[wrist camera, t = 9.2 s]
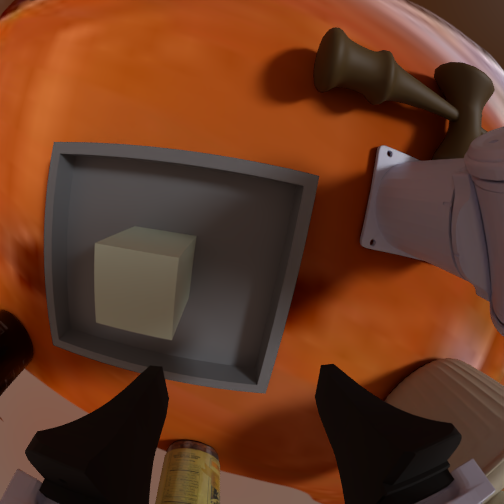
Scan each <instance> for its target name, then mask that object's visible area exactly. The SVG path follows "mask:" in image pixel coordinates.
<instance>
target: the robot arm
mask: <svg viewBox="0 0 504 504" xmlns="http://www.w3.org/2000/svg"><path fill="white" fill-rule="evenodd" d="M387 152H389V153H390V157H389V156H388V155H387ZM372 239H373V244H372V245H370V241H371V240H372ZM360 244H361V246H363V247H365V248H369V249H373V250H378V251H383V252H387V253H392V254H396V255H401V256H405V257H410V258H414V259H419V260H423V261H426V262H428V263H430V264H433V265H435V266H437V267H439V268H441V269H443V270H446V271H448V272H450V273H452V274H454V275H456V276H458V277H460V278H462V279H464V280H467V281H469V282H470V283H472V284H473V285H474V287H475V289H476V294H477V295H478V296H480V297H482V298H484V299H486V300H487V301H489V302H490V315H491V319H492V322H493V324H494V326H495V327H496V329H497V331H498V332H499V333H500V334H501V335H502V336H504V127H501V128H497V129H494V130H492V131H489V132H487V133H485V134H483V135H481V136H479V137H477V138H476V139H474V140H473V141H472V142H471V144H470V146H469V149H468V151H467V152H466V154H465V156H464V158H456V159H440V160H427V161H420V160H418V159H416V158H414V157H411V156H409V155H407V154H404V153H402V152H400V151H397V150H395V149H392V148H390V147H387V146H384V145H383V146H379V147H378V149H377V153H376V160H375V167H374V173H373V178H372V184H371V190H370V195H369V200H368V205H367V210H366V215H365V219H364V224H363V228H362V233H361V237H360ZM315 399H316V404H317V408H318V412H319V415H320V418H321V421H322V423H323V426H324V428H325V431H326V433H327V436H328V438H329V441H330V443H331V446H332V448H333V451H334V454H335V457H336V461H337V465H338V469H339V474H340V478H341V483H342V488H343V494H344V500H345V504H481V503H483V502H484V501H485V500H486V499H487V498H488V497H490V496H491V495H492V494H493V493H494V492H495V488H494V487H493V485H492V484H491V483H490V481H489V480H488V478H487V477H486V476H485V474H484V473H483V471H482V470H481V469H480V467H479V466H478V464H477V463H476V462H475V460H474V459H470V460H469V461H467V462H466V463H464V464H462V465H461V466H459V467H457V468H456V469H454V470H453V471H452V472H451V473H450V472H449V470H448V468H449V467H450V464H449V462H448V461H447V460H448V459H449V458H450V456H451V455H452V454H453V453H454V451H455V450H456V449H457V447H458V446H459V444H460V442H461V439H462V435H461V434H460V433H459V431H458V430H457V429H456V428H455V426H454V425H453V424H452V423H448V422H441V421H435V420H431V419H427V418H423V417H419V416H416V415H413V414H411V413H408V412H405V411H403V410H401V409H398V408H396V407H394V406H392V405H390V404H388V403H386V402H384V401H383V400H381V399H379V398H378V397H376V396H375V395H373V394H372V393H370V392H369V391H367V390H366V389H364V388H363V387H362V386H360V385H359V384H358V383H356V382H355V381H354V380H353V379H351V378H350V377H349V376H348V375H346V374H345V373H344V372H343V371H342V370H340V369H339V368H338V367H337V366H335V365H334V364H328V365H321V368H320V374H319V379H318V384H317V389H316V394H315ZM168 401H169V397H168V392H167V387H166V382H165V377H164V372H163V367H162V366H151V365H150V366H149V367H148V368H147V369H145V370H144V371H143V372H142V373H141V374H140V375H139V376H138V377H137V378H136V379H135V380H134V381H133V382H132V383H131V384H130V385H128V386H127V387H126V388H125V389H124V390H123V391H122V392H120V393H119V394H118V395H117V396H115V397H114V398H113V399H112V400H110V401H109V402H108V403H106V404H105V405H103V406H102V407H100V408H98V409H97V410H95V411H93V412H92V413H90V414H88V415H86V416H84V417H82V418H80V419H78V420H75V421H73V422H70V423H68V424H65V425H62V426H59V427H55V428H51V429H47V430H43V431H37V433H36V434H35V436H34V437H33V439H32V441H31V442H30V444H29V445H28V447H27V449H26V450H25V454H26V456H27V458H28V460H29V461H30V463H31V464H32V465H33V466H34V467H35V468H36V470H37V471H38V472H39V473H40V474H41V475H42V476H43V477H44V478H45V479H44V481H43V483H41V482H40V481H39V480H37V479H36V478H34V477H32V476H30V475H28V474H26V473H25V472H23V471H21V470H20V469H17V470H16V472H15V474H14V476H13V478H12V479H11V481H10V483H9V485H8V487H7V489H6V491H5V493H4V495H3V497H2V499H1V501H0V504H149V493H150V482H151V474H152V467H153V460H154V456H155V451H156V448H157V445H158V441H159V438H160V435H161V432H162V428H163V425H164V422H165V418H166V414H167V408H168Z"/></svg>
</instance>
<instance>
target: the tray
mask: <svg viewBox="0 0 504 504" xmlns="http://www.w3.org/2000/svg"><path fill="white" fill-rule="evenodd" d="M318 179H319V176H317V175H313V174H309V173H305V172H301V171H296V170H292V169H287V168H283V167H278V166H273V165H269V164H264V163H259V162H254V161H248V160H243V159H237V158H231V157H225V156H219V155H213V154H206V153H200V152H192V151H185V150H177V149H168V148H159V147H149V146H138V145H125V144H109V143H85V142H54V145H53V151H52V156H51V162H50V169H49V176H48V185H47V194H46V206H45V223H44V268H45V286H46V297H47V307H48V315H49V322H50V329H51V335H52V341H53V345H55V346H57V347H60V348H62V349H65V350H68V351H70V352H73V353H76V354H79V355H81V356H84V357H87V358H90V359H93V360H96V361H99V362H103V363H106V364H109V365H113V366H116V367H120V368H123V369H127V370H130V371H134V372H138V373H142V372H143V371H144V370H145V369H147V368H148V367H149V366H150V365H151V366H162V367H163V372H164V377H165V379H168V380H173V381H178V382H183V383H189V384H194V385H200V386H207V387H213V388H220V389H228V390H236V391H245V392H255V393H266V390H267V387H268V383H269V380H270V377H271V373H272V370H273V366H274V363H275V360H276V356H277V353H278V349H279V345H280V342H281V338H282V335H283V331H284V327H285V324H286V320H287V316H288V312H289V308H290V304H291V301H292V297H293V293H294V289H295V285H296V281H297V276H298V272H299V268H300V264H301V260H302V255H303V251H304V247H305V242H306V238H307V233H308V228H309V224H310V219H311V214H312V210H313V205H314V200H315V195H316V190H317V185H318ZM134 226H137V227H143V228H150V229H156V230H162V231H169V232H175V233H181V234H187V235H194V236H197V237H196V244H195V251H194V259H193V267H192V275H191V284H190V293H189V299H188V301H187V303H186V306H185V308H184V311H183V313H182V316H181V318H180V321H179V323H178V326H177V329H176V331H175V334H174V336H173V339H172V340H168V339H163V338H158V337H153V336H149V335H144V334H140V333H135V332H131V331H127V330H123V329H119V328H115V327H111V326H107V325H103V324H100V323H96V315H95V293H94V254H95V243H96V242H98V241H101V240H103V239H105V238H108V237H110V236H112V235H115V234H117V233H119V232H122V231H124V230H127V229H129V228H132V227H134Z"/></svg>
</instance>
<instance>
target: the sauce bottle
mask: <svg viewBox="0 0 504 504" xmlns="http://www.w3.org/2000/svg"><path fill="white" fill-rule="evenodd" d="M155 504H220V463H219V459H218V455H217V453H216V451H215V450H214V449H213V448H212V447H211V446H207V445H205V444H203V443H200V442H195V441H185V440H183V441H176V442H175V443H173V444H172V445H171V446H170V447H169V448H168V450H167V453H166V455H165V458H164V463H163V468H162V473H161V477H160V482H159V487H158V492H157V497H156V503H155Z"/></svg>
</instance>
